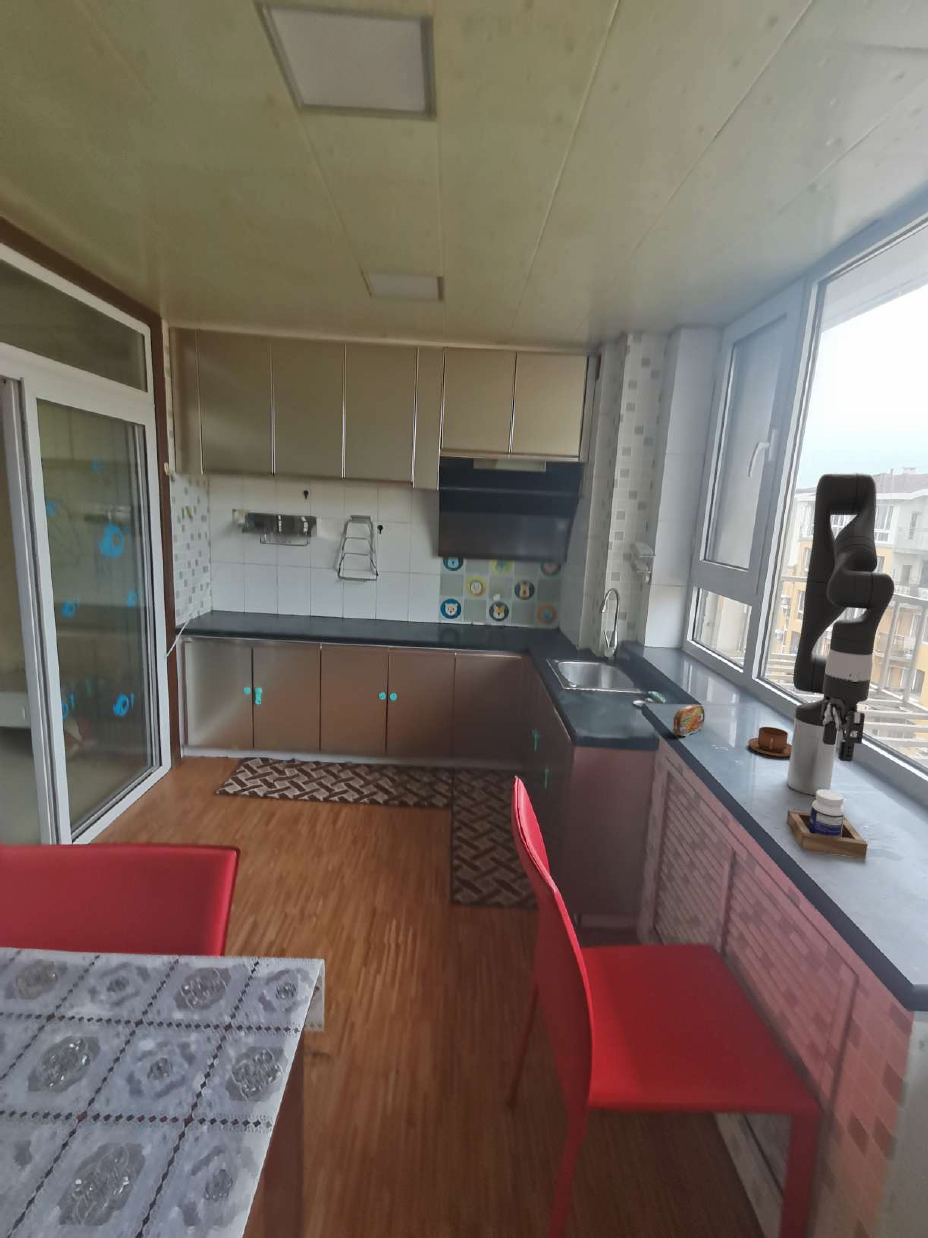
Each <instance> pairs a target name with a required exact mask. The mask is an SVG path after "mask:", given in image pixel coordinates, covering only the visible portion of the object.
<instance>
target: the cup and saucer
mask: <svg viewBox="0 0 928 1238" xmlns="http://www.w3.org/2000/svg"><path fill="white" fill-rule="evenodd" d="M788 736H789V733H788V732H787V731H786V730H784V729H780V728H777V727H772V726H762V727H759V728H758V735H757V737H754V738H750V739H749V740H748V742H747V743H748V746H749V747H750V748H751V749H752V750H754V751H756V752H757V753H761V754H764V755H766V756H772V757H782V758H783V757H790V753H791V745H792V744H790V743H788Z"/></svg>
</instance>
